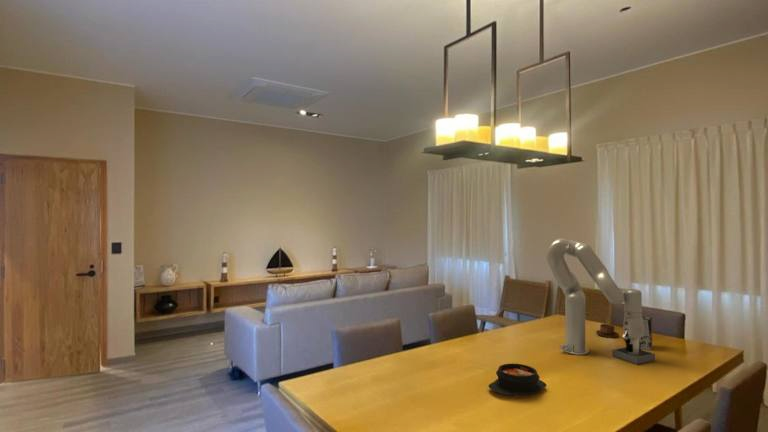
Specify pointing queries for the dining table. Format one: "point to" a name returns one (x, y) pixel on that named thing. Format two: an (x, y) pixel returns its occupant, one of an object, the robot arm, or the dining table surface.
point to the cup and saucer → (607, 331)
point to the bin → (641, 359)
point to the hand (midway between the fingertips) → (633, 350)
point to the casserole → (517, 380)
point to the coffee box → (647, 334)
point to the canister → (635, 347)
